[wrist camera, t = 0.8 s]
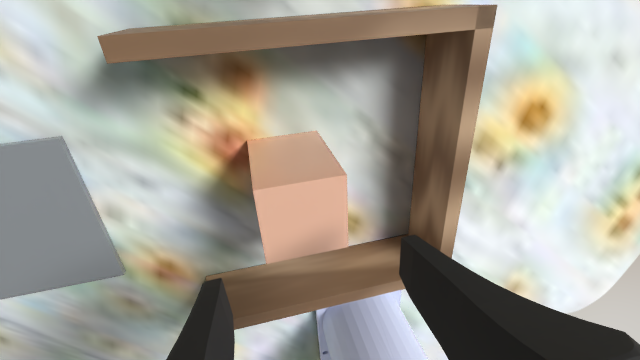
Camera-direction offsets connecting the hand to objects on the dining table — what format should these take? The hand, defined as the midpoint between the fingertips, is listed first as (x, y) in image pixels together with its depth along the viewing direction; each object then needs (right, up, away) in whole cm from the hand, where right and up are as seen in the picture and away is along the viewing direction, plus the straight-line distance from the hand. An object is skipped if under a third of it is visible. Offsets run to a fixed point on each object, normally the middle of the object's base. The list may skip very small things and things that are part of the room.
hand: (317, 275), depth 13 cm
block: (-2, +5, +9) cm, 11 cm away
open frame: (0, +5, +9) cm, 11 cm away
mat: (-19, +1, +7) cm, 20 cm away
